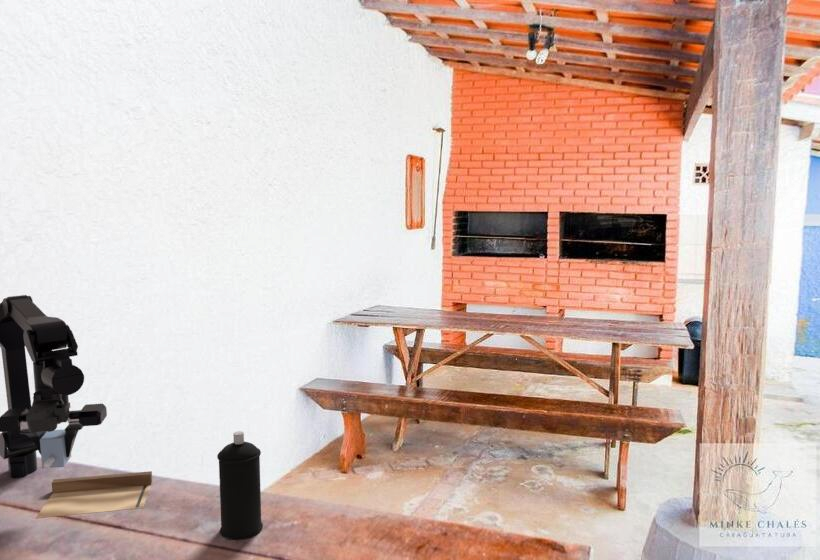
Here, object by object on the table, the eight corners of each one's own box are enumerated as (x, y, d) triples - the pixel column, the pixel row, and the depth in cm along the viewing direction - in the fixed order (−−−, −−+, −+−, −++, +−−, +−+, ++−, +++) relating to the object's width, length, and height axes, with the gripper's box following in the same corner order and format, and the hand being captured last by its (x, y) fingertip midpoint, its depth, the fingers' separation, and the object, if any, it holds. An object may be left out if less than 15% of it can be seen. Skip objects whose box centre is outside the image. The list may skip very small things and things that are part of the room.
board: (54, 496, 140) (53, 479, 140) (152, 488, 145) (151, 471, 144) (36, 524, 129) (34, 506, 128) (143, 514, 133) (142, 496, 133)
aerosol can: (253, 542, 123) (250, 442, 120) (212, 538, 125) (208, 439, 122) (269, 520, 131) (266, 426, 128) (230, 516, 133) (227, 423, 130)
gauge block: (50, 458, 133) (47, 430, 132) (71, 456, 134) (69, 428, 133) (36, 476, 125) (33, 446, 124) (58, 474, 126) (56, 445, 125)
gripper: (-19, 399, 119) (-11, 479, 121) (91, 393, 123) (96, 470, 125) (5, 381, 130) (11, 455, 132) (105, 376, 134) (109, 447, 136)
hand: (56, 457), depth 131 cm, fingers closed on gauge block, 4 cm apart
